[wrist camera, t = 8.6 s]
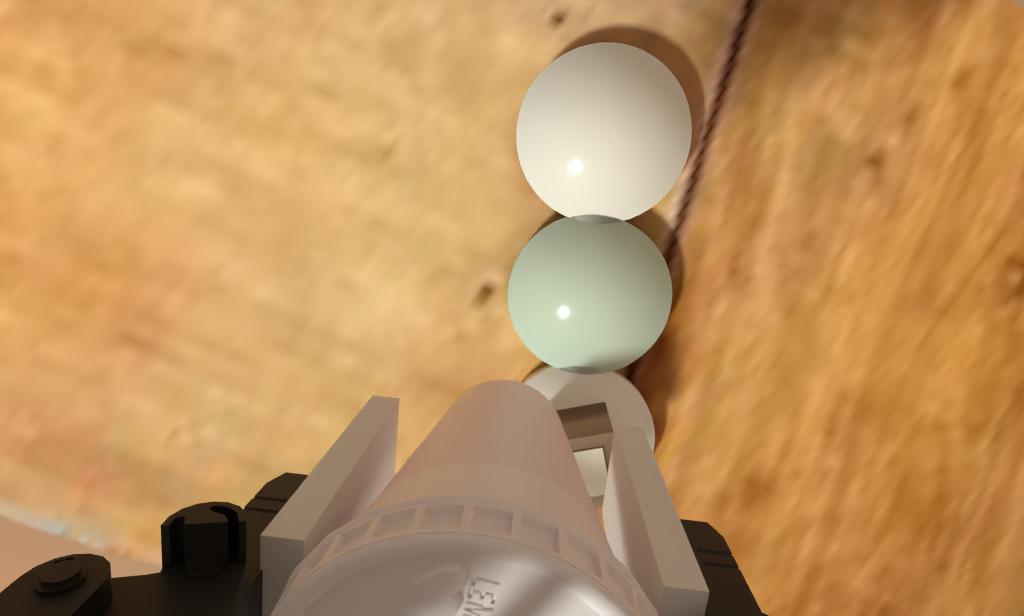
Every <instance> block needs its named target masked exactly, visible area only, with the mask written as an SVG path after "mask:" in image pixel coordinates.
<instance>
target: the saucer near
mask: <svg viewBox="0 0 1024 616" xmlns="http://www.w3.org/2000/svg"><path fill="white" fill-rule="evenodd" d="M691 137H692V122H691V114H690V109H689V105H688V102H687V99H686V96H685V93H684V91H683V89H682V87H681V85H680V83H679V82H678V80H677V79H676V78H675V76H674V75H673V73H672V72H671V71H670V70H669V69H668V68H667V67H666V66H665V65H664V64H663V63H662V62H661V61H659V60H658V59H657V58H656V57H654V56H653V55H651V54H649V53H648V52H646V51H644V50H641V49H639V48H637V47H634V46H630V45H627V44H622V43H614V42H600V43H594V44H588V45H584V46H581V47H578V48H575V49H573V50H571V51H569V52H567V53H565V54H563V55H562V56H560V57H558V58H557V59H555V60H554V61H553V62H552V63H551V64H549V65H548V66H547V67H546V68H545V69H544V70H543V71H542V72H541V73H540V74H539V75H538V77H537V78H536V79H535V81H534V82H533V84H532V85H531V87H530V88H529V90H528V92H527V94H526V96H525V98H524V101H523V103H522V106H521V109H520V113H519V117H518V122H517V131H516V143H517V151H518V157H519V160H520V164H521V167H522V170H523V172H524V174H525V177H526V179H527V180H528V182H529V184H530V186H531V187H532V188H533V190H534V191H535V192H536V194H537V195H538V196H539V197H540V198H541V199H542V200H543V201H544V202H545V203H546V204H547V205H549V206H550V207H551V208H552V209H554V210H555V211H557V212H559V213H560V214H562V215H564V216H566V217H569V218H570V217H571V219H572V217H573V216H577V217H576V220H578V221H582V222H583V221H584V220H585V218H586V215H587V216H588V218H589V219H588V220H587V219H586V220H587V222H588V223H590V222H591V223H592V222H593V224H594V223H595V222H597V221H598V220H599V221H603V220H604V217H605V219H606V217H607V216H610V217H611V218H612V217H613V218H616V220H617V218H618V219H619V220H623V221H624V220H628V219H631V218H633V217H636V216H638V215H640V214H642V213H644V212H645V211H647V210H649V209H650V208H652V207H653V206H654V205H656V204H657V203H658V202H659V201H660V200H661V199H662V198H663V197H664V196H665V195H666V194H667V193H668V192H669V191H670V190H671V188H672V187H673V186H674V185H675V183H676V181H677V180H678V178H679V176H680V175H681V173H682V171H683V168H684V166H685V164H686V161H687V158H688V155H689V150H690V145H691ZM590 214H591V215H590ZM593 214H594V215H593ZM584 215H585V216H584ZM589 215H590V216H589ZM592 215H593V216H594V219H595V221H592V220H594V219H592V218H593V216H592ZM599 215H600V216H599ZM602 215H603V216H604V217H603V216H602ZM582 216H583V217H582ZM591 216H592V218H591V219H592V220H591V219H590V217H591ZM598 216H599V217H598ZM601 216H602V217H603V218H602V219H603V220H602V219H601ZM578 217H580V218H581V219H580V218H578ZM582 218H583V219H584V220H583V219H582ZM596 218H597V219H596ZM598 218H599V219H598ZM574 219H575V217H574ZM579 219H580V220H579ZM607 219H608V218H607ZM607 219H606V220H607ZM609 219H610V218H609ZM609 219H608V220H609ZM586 220H585V223H587V222H586ZM590 220H591V221H590ZM596 220H597V221H596ZM613 220H614V219H613ZM613 220H612V219H611V221H613ZM616 220H615V221H616ZM599 221H598V222H599ZM611 221H610V220H609V221H608V222H606V223H605V222H604V221H603V222H604V223H605V224H608V223H610V222H611ZM615 221H613V222H614V223H616V222H617V221H618V220H617V221H616V222H615ZM598 222H597V223H598ZM603 222H602V223H603ZM613 222H612V223H613ZM597 223H595V224H597ZM599 223H600V222H599ZM602 223H600V224H602ZM604 223H603V224H604Z"/></svg>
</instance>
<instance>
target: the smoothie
mask: <svg viewBox="0 0 1024 616" xmlns="http://www.w3.org/2000/svg"><path fill="white" fill-rule="evenodd" d="M270 616H658V614H657V611H656V609H655V608H654V606H653V605H652V603H651V602H650V600H649V599H648V597H647V596H646V594H645V593H644V591H643V590H642V588H641V587H640V585H639V584H638V582H637V581H636V579H635V578H634V576H633V575H632V573H631V572H630V570H629V569H628V568H627V567H626V566H625V565H624V564H623V563H621V562H620V561H619V560H618V559H617V558H616V557H615V556H614V555H613V552H612V549H611V547H610V545H609V543H608V541H607V539H606V536H605V533H604V531H603V528H602V526H601V523H600V521H599V518H598V515H597V513H596V510H595V508H594V505H593V503H592V500H591V497H590V495H589V492H588V490H587V487H586V485H585V482H584V479H583V477H582V474H581V472H580V469H579V467H578V464H577V461H576V459H575V456H574V454H573V451H572V449H571V446H570V443H569V441H568V438H567V436H566V433H565V431H564V428H563V426H562V423H561V420H560V418H559V416H558V413H557V411H556V410H555V408H554V406H553V405H552V404H551V402H550V401H549V400H548V399H547V398H546V397H545V396H544V395H543V394H541V393H540V392H539V391H537V390H536V389H534V388H532V387H530V386H528V385H526V384H523V383H520V382H517V381H512V380H492V381H487V382H484V383H480V384H478V385H476V386H474V387H472V388H470V389H469V390H467V391H466V392H464V393H463V394H462V395H461V396H460V397H459V398H458V399H457V400H456V401H455V403H454V404H453V405H452V406H451V407H450V409H449V410H448V411H447V412H446V414H445V415H444V416H443V417H442V419H441V420H440V421H439V422H438V423H437V425H436V426H435V427H434V428H433V430H432V431H431V432H430V433H429V435H428V436H427V437H426V438H425V440H424V441H423V442H422V443H421V444H420V446H419V447H418V448H417V449H416V451H415V452H414V453H413V454H412V456H411V457H410V458H409V459H408V460H407V462H406V463H405V464H404V465H403V467H402V468H401V469H400V470H399V472H398V473H397V474H396V475H395V476H394V478H393V479H392V480H391V481H390V483H389V484H388V485H387V486H386V488H385V489H384V490H383V491H382V493H381V494H380V495H379V496H378V497H377V499H376V500H375V501H374V502H373V503H372V504H371V505H370V506H369V507H368V509H367V510H366V511H365V512H364V514H363V515H361V516H360V517H358V518H356V519H354V520H353V521H351V522H349V523H347V524H346V525H344V526H342V527H340V528H338V529H337V530H335V531H333V532H331V533H330V534H328V535H327V536H326V537H325V538H324V539H323V540H322V541H321V542H320V543H319V544H318V545H317V546H316V547H315V548H314V549H313V550H312V551H311V552H310V553H309V554H308V556H307V557H306V558H305V559H304V560H303V561H302V562H301V563H300V564H299V565H298V566H297V567H296V568H295V569H294V570H293V572H292V574H291V576H290V578H289V580H288V582H287V584H286V586H285V588H284V590H283V592H282V594H281V596H280V598H279V600H278V602H277V604H276V606H275V608H274V610H273V611H272V613H271V614H270Z"/></svg>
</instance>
